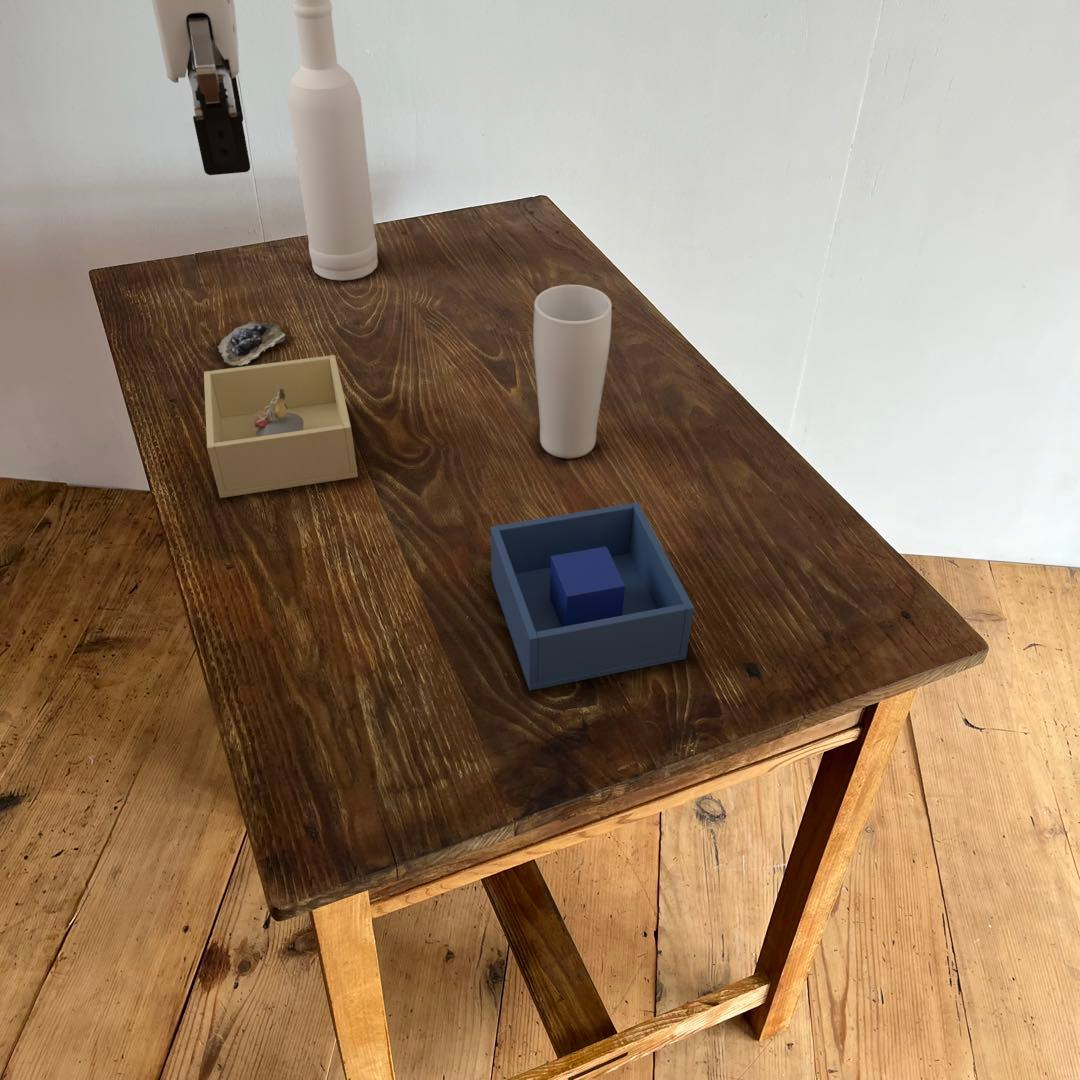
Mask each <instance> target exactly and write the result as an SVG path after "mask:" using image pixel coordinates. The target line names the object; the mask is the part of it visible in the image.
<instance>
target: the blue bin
mask: <svg viewBox="0 0 1080 1080" xmlns="http://www.w3.org/2000/svg"><path fill="white" fill-rule="evenodd" d="M489 530H490V561H491V563H490V564H491V567H490V568H491V580H492V583H493V586H494V589H495V592H496V596H497V598H498V601H499V604H500V606H501V607H500V608H501V610H502V613H503V615H504V619H505V622H506V625H507V628H508V630H509V634H510V637H511V641H512V643H513V646H514V648H515V649H514V650H515V651H516V655H517V657H518V661H519V664H520V666H521V670H522V673H523V676H524V678H525V681H526V684H527V687H528V688H527V689H528V690H529V691H535V690H540V689H546V688H549V687H550V688H551V687H555V686H560V685H565V684H569V683H574V682H579V681H585V680H588V679H595V678H599V677H604V676H610V675H613V674H619V673H625V672H628V671H629V672H630V671H635V670H638V669H644V668H648V667H654V666H660V665H664V664H669V663H673V662H678V661H683V660H686V659H687V653H688V648H689V642H690V635H691V628H692V623H693V618H694V617H693V616H694V610H695V606H694V604H693V603H692V601H691V599H690V597H689V596H688V593H687V591H686V590H685V587H684V586H683V584H682V582H681V580H680V579H679V577H678V574H677V573H676V571H675V568H674V567H673V565H672V564H671V561H670V559H669V557H668V556H667V554H666V552H665V550H664V548H663V546H662V544H661V543H660V541H659V539H658V536H657V535H656V532H655V531H654V529H653V527H652V526H651V524H650V522H649V520H648V518H647V516H646V514H645V512H644V510H643V508H642V506H641V505H640V503H639V501H636V502H631V503H626V504H620V505H619V504H618V505H612V506H607V507H601V508H595V509H590V510H583V511H578V512H577V511H576V512H571V513H565V514H560V515H553V516H548V517H542V518H541V517H540V518H535V519H530V520H523V521H519V522H512V523H511V522H510V523H506V524H500V525H494V526H490V529H489ZM600 547H607V548H608V550H609V553H610V555H611V557H612V559H613V561H614V563H615V565H616V567H617V570H618V572H619V574H620V576H621V578H622V580H623V582H624V585H625V592H624V602H623V612H622V616H617V617H612V618H607V619H602V620H596V621H591V622H586V623H581V624H575V625H570V626H565V627H561V625H560V622H559V620H558V617H557V615H556V612H555V609H554V607H553V604H552V602H551V599H550V572H551V556H555V555H560V554H566V553H572V552H577V551H583V550H589V549H595V548H600Z"/></svg>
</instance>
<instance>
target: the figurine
mask: <svg viewBox="0 0 1080 1080" xmlns="http://www.w3.org/2000/svg"><path fill="white" fill-rule="evenodd" d="M282 390H283V389H279V391H278V396H277V397H274V398H275V399H277V400H276V401H275V402H272V401H273V399H274V398H273V399H272V401H271V403H273V404H274V403H276V406H275V407H276V409H275V413H273V410H272V409H271V408H269V409H268V410H267V413H265V412H264V411H265V409H266V408H267V407H270V406H271V403H270V406H266V407H265V409H264V411H263V412H262V411H258V412H262V413H264V414H265V416H264V418H261V417H260V415H259V414H258V416H259V417H258V418H257V419H256V420H255V421H254V426H255V427H257V430H255V432H256V435H257V437H260V436H267V435H274V434H281V433H288V432H295V431H302V430H303V424H304V423H303V419H302V417H300V416H299V415H297V414H293V413H289V412H288V411H287V406H286V405H285V404H284V403H283V401H284V400H283V401H282V399H286V398H285V397H286V396H285V394H284V392H285V391H284V390H283V391H284V392H283V391H282ZM283 397H284V398H283ZM277 402H278V403H277ZM258 412H257V413H258ZM257 413H256V414H257ZM268 417H269V418H268Z"/></svg>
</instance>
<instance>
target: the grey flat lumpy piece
mask: <svg viewBox="0 0 1080 1080" xmlns="http://www.w3.org/2000/svg"><path fill="white" fill-rule="evenodd" d="M285 333H286V332H284V331H283V330H282V328H280V325H279V324H276V323H270V324H269V322H263V323H262V322H261V323H258V321H255V320H251V321H248V322H247V323H246V324H243V325H240V326H237V327H236V328H233V331H231V332H229V333H228V335H226V336H225V337H223V338H222V339H221V341H220V343H219V345H217V348H218V353H219V354H221V355H220V356H221V357H222V359H223V362H224V363H225V364H226V365H229V366H232V367H234V366H238V367H241V366H243V365H244V366H245V365H249V363H251V361H253V360H255V359H257V358H259V356H260V354H261V353H262V352H263V351H264V352H266V350H267V349H268V348H270V347H271V348H272V347H275V345H276V344H280V343H283V342H284V341H286V340H287V335H286V334H285Z"/></svg>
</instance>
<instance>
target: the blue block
mask: <svg viewBox="0 0 1080 1080" xmlns="http://www.w3.org/2000/svg"><path fill="white" fill-rule="evenodd" d="M624 592H625V585H624V582H623V580H622V578H621V576H620V574H619V572H618V570H617V567H616V565H615V563H614V561H613V559H612V557H611V555H610V553H609V550H608V548H607V547H600V548H595V549H589V550H583V551H577V552H572V553H566V554H560V555H555V556H551V572H550V599H551V602H552V604H553V607H554V609H555V612H556V615H557V617H558V620H559V622H560V625H561V627H565V626H570V625H575V624H581V623H586V622H591V621H596V620H602V619H607V618H612V617H617V616H622V612H623V602H624Z"/></svg>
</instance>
